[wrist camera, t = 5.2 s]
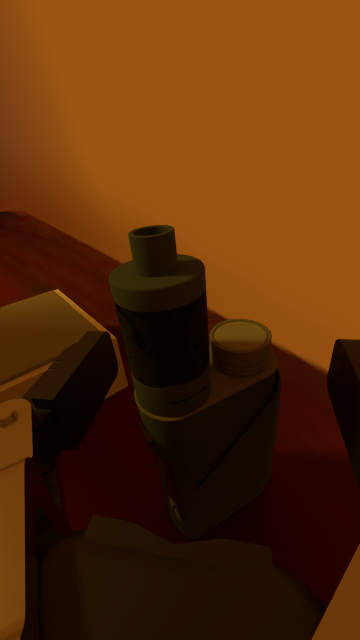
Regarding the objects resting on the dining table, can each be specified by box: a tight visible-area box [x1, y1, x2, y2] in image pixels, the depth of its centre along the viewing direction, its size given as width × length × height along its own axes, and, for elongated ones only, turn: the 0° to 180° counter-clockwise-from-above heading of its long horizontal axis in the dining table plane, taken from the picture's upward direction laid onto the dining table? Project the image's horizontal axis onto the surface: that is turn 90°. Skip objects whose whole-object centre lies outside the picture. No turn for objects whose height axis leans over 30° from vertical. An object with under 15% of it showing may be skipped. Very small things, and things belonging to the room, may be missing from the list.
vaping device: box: [109, 225, 281, 540], centre depth 10 cm, size 3×5×12 cm, turn 117°
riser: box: [0, 289, 128, 404], centre depth 20 cm, size 11×11×4 cm
